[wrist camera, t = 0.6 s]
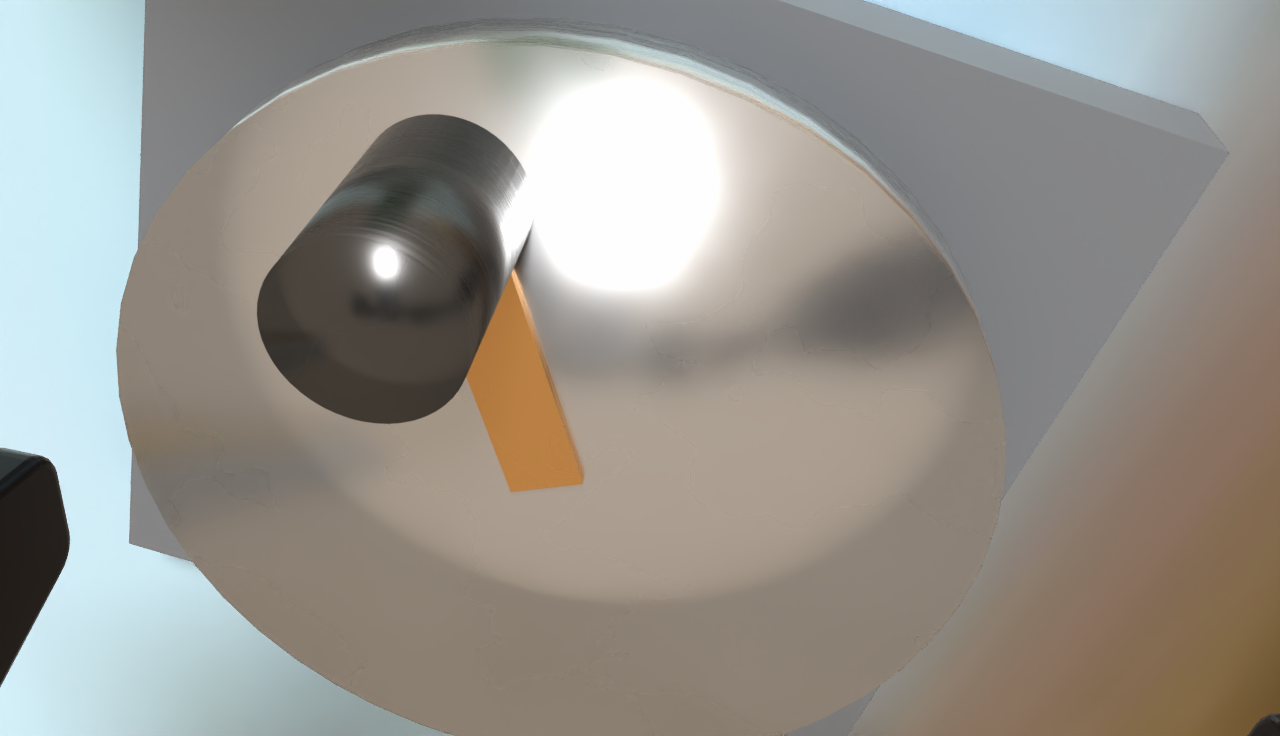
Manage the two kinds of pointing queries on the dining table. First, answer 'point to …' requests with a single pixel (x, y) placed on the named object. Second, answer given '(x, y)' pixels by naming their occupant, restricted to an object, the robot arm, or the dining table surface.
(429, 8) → the wheel base
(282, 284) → the handwheel
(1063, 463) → the dining table surface
